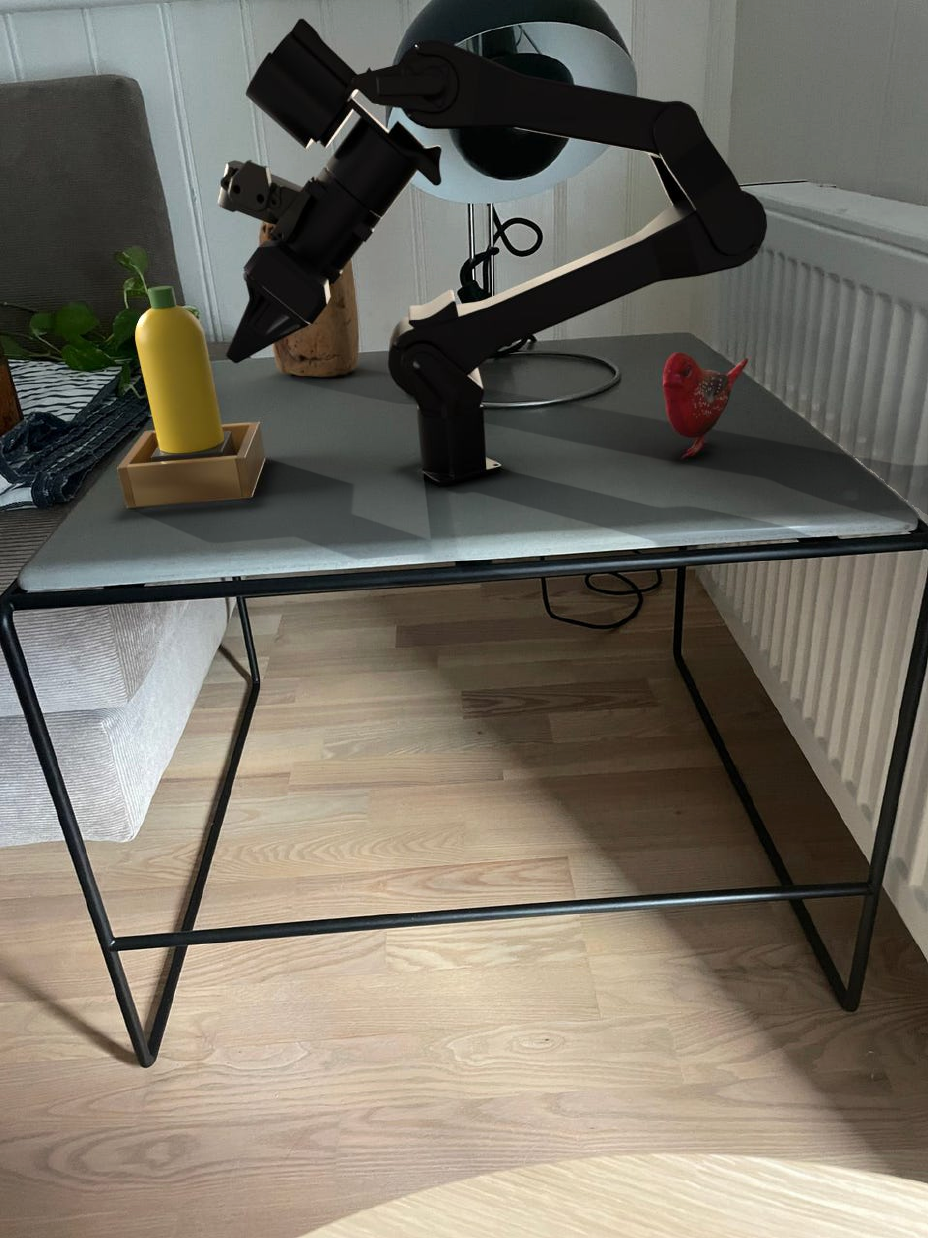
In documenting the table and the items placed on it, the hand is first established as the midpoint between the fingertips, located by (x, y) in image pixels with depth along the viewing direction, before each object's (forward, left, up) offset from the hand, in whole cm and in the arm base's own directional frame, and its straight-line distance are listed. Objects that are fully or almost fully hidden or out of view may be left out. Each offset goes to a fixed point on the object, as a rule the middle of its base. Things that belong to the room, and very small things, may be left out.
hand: (240, 345), depth 79 cm
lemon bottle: (+3, +5, -8) cm, 10 cm away
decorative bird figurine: (-19, -36, -12) cm, 42 cm away
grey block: (+3, +5, -11) cm, 13 cm away
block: (+36, -21, -12) cm, 43 cm away
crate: (+3, +5, -12) cm, 14 cm away
